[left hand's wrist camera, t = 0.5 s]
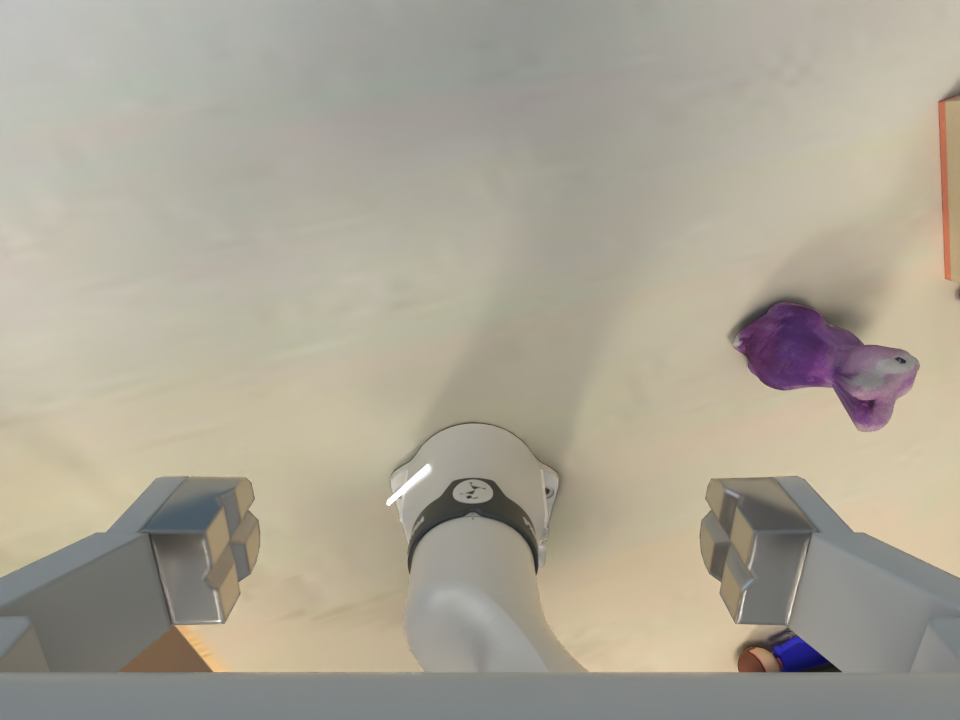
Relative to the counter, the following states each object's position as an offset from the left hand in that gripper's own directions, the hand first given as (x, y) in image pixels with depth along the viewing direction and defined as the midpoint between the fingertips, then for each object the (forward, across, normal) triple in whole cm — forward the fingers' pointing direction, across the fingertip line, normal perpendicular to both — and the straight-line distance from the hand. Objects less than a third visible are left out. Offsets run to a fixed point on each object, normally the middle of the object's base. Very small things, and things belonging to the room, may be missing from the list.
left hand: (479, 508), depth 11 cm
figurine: (+48, +31, -13) cm, 58 cm away
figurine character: (+48, +40, -55) cm, 83 cm away
